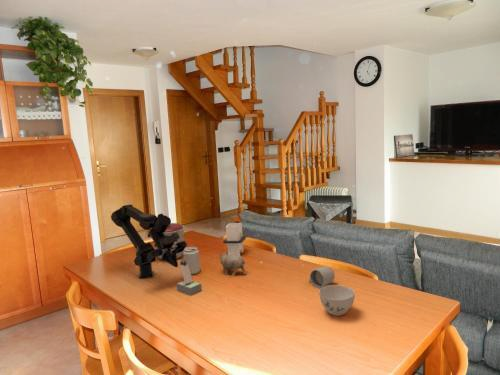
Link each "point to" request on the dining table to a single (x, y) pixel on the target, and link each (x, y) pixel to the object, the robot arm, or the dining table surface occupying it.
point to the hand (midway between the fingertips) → (177, 266)
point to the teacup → (336, 298)
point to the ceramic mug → (321, 276)
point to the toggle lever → (186, 272)
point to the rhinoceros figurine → (232, 263)
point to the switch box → (189, 287)
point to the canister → (172, 229)
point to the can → (192, 259)
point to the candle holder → (234, 238)
